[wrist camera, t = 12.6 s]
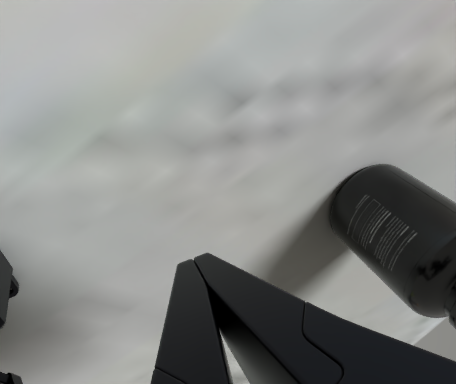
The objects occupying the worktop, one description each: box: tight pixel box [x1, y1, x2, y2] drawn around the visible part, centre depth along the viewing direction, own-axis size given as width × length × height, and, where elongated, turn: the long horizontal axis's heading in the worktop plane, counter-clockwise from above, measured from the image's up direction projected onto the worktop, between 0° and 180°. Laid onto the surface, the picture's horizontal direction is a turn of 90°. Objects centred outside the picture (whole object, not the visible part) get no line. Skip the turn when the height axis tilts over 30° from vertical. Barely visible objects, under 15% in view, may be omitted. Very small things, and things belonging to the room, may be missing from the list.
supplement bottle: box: [330, 164, 456, 329], centre depth 25 cm, size 7×7×12 cm
